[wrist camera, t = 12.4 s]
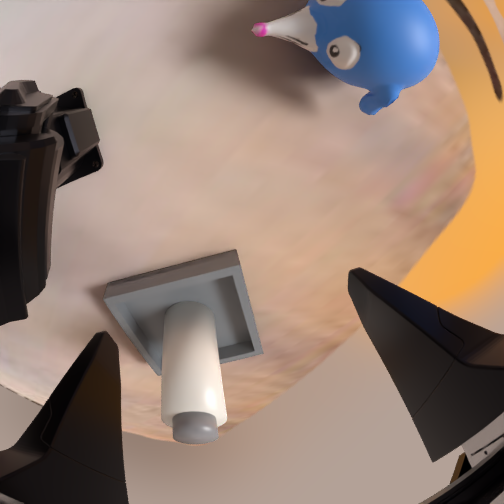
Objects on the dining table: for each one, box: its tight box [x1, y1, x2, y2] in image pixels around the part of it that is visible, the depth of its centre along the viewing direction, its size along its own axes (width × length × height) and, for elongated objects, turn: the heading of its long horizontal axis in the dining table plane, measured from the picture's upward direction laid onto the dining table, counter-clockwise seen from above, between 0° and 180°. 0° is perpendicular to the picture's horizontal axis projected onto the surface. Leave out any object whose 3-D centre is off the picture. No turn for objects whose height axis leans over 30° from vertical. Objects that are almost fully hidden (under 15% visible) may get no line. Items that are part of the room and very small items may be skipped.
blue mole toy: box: [252, 0, 439, 115], centre depth 12 cm, size 12×12×8 cm
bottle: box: [161, 301, 227, 444], centre depth 21 cm, size 5×5×12 cm
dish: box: [103, 250, 264, 376], centre depth 26 cm, size 12×12×2 cm
